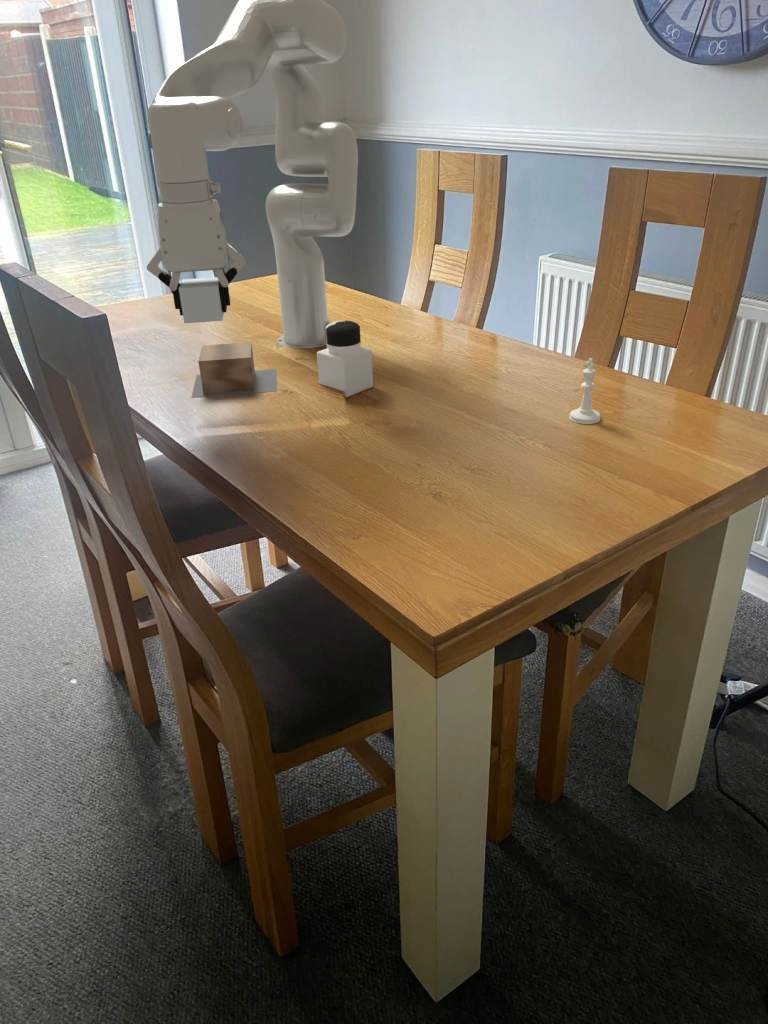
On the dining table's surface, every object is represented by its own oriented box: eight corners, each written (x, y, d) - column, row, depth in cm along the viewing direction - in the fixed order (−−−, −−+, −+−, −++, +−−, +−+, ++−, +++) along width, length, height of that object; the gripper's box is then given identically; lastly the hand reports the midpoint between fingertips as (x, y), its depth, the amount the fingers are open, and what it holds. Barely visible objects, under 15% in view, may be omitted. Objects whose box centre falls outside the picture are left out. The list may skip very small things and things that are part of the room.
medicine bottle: (374, 387, 143) (371, 322, 138) (346, 398, 139) (342, 331, 133) (346, 378, 148) (342, 315, 142) (318, 389, 143) (313, 324, 137)
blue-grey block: (224, 310, 131) (219, 276, 128) (222, 320, 126) (217, 286, 123) (187, 313, 130) (182, 279, 128) (184, 323, 125) (178, 288, 123)
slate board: (276, 374, 151) (276, 368, 150) (277, 397, 140) (276, 391, 140) (197, 380, 149) (196, 374, 149) (192, 404, 139) (191, 397, 138)
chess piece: (582, 426, 125) (588, 366, 120) (562, 416, 129) (567, 357, 124) (606, 420, 127) (613, 360, 122) (586, 410, 131) (592, 351, 126)
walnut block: (255, 373, 149) (251, 342, 146) (254, 389, 141) (250, 357, 138) (206, 376, 148) (202, 345, 145) (203, 393, 140) (198, 361, 137)
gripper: (244, 186, 123) (257, 301, 132) (131, 193, 121) (152, 309, 130) (243, 193, 116) (257, 314, 125) (123, 200, 115) (146, 322, 124)
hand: (203, 310), depth 128 cm, fingers closed on blue-grey block, 6 cm apart
